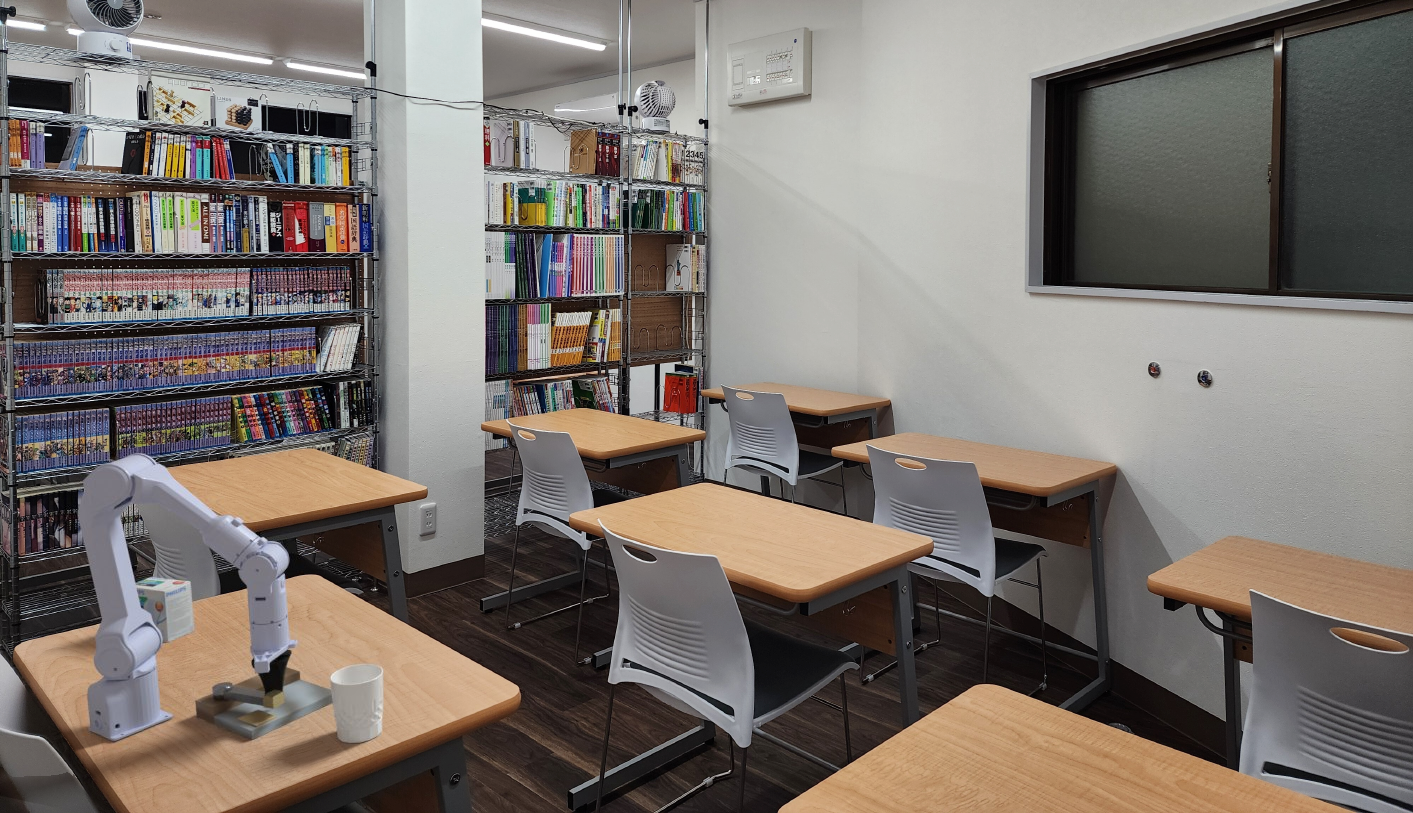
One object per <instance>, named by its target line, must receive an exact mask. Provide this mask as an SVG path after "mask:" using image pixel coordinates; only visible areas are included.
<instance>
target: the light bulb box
mask: <svg viewBox="0 0 1413 813" xmlns="http://www.w3.org/2000/svg"><path fill="white" fill-rule="evenodd" d="M135 584H136V588H137V593H138V597H139V601H140V606H141V608H142V609H144V610H145V611H147V612H149V613H150V614H151V616H152V620H153V622H154V624H155V626H156V627H157V628H158V629H159V630H160V632H161V634H162V638H163V642H164V643H171V642H172V641H175V640H177V639H180V638H181V637H184V636H187V635H188V634H191V633H193V632H195V624H194V623H195V621H194V609H193V598H192V597H193V595H192V585H191V584H192V583H191V581H190V580H180V579H173V578H172V579H171V578H162V577H154V576H151V577H147V578H145V579H142V580H139V581H137V582H135ZM163 642H162V643H163Z"/></svg>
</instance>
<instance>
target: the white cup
mask: <svg viewBox="0 0 1413 813" xmlns="http://www.w3.org/2000/svg"><path fill="white" fill-rule="evenodd" d="M329 681H330V690H331V692H332V701H333V703H332V708H333V715H334V721H335V723H336V733H337V739H338V740H340V741H341V742H343V743H345V744H346V743H347V744H357V743H358V744H360V743H363V742H364V743H365V742H367V741H371V740H373V739H374V738H377V737H379V735H381V733H382V732H383V715H384V669H383V668H382V666H379V665H377V664H372V663H359V664H354V665H353V664H351V665H348V666H344V667H342V668H340V669H337V670H336V671H334V672H332V674H331V675H330V677H329Z"/></svg>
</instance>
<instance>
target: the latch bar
mask: <svg viewBox="0 0 1413 813" xmlns="http://www.w3.org/2000/svg"><path fill="white" fill-rule="evenodd" d="M233 685H234V684H233V682H230V681H229V682H228V681H225V682H219V683H216V684H214V685H213V686H212V689H211V690H212V691H211V692H212V693H213V699H214V700H231V701H237V702H243V703H249V704H255V705H260V706H264V707H265V708H270V709H275V708H276V707H278V706H280V705H281V704H283V703H285V701H284V691H280V690H272V691H270V692H265V691H259V690H253V689H247V688H241V687H235V686H233Z"/></svg>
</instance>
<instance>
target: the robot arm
mask: <svg viewBox="0 0 1413 813" xmlns="http://www.w3.org/2000/svg"><path fill="white" fill-rule="evenodd" d="M82 484H83V489H84V491H83V494H82V497H81V500H80V503H79V506H78V509H77V518H78V522H79V526H80V531H81V534H82V539H83V540H82V541H83V542H84V543H83V544H84V547H85V552H86V556H87V557H86V558H87V561H88V565H89V569H90V573H91V577H92V581H93V586H94V590H95V594H96V598H97V602H98V607H99V608H98V609H99V611H100V615H101V622H100V624H99V627H98V628H97V630H96V633H95V636H94V641H95V652H94V654H93V655H94V656H93V663H94V667H95V669H96V670H97V672H98V673H99V674H100V675H102V677H101V679H99V680H98V681H96V682H94V683H92V684H90V685H89V686H88V688H87V693H86V695H87V696H86V697H87V698H86V699H87V705H88V706H87V707H88V709H87V710H88V717H89V726H88V727H87V730H88V731H90V732H93V733H94V734H96V735H99V736H101V737H103V738H105V739H108V740H110V741H112V742H116V741H119V740H121V739H124V738H127V737H128V736H132V735H133V734H136V733H138V732H141V731H143V730H146V729H149V728H151V727H154V726H156V725H158V724H161V723H163V722H165V721H167V720H170V719H172V718H174V715H173V713H170V712H168V711H165V710H163V709H162V708H161V699H160V688H159V678H158V677H159V676H158V667H157V663H158V662H157V653H159V651H160V649H162V646H163V638H162V634H161V632H160V630H159V629H158V628H157V627H156V626H155V624H154V622H153V620H152V616H151V614H150V613H149V612H147V611H145V610H144V609H142V608H141V606H140V601H139V597H138V593H137V588H136V584H135V583H136V580H135V576H134V572H133V568H132V562H131V558H130V554H129V550H128V544H127V541H126V537H125V532H124V527H123V522H122V518H121V515H122V514H123V513H124V512H125V511H126V509H127V508H128V507H129V506H130V505H131V504H132V505H133V504H134V505H137V504H138V505H139V504H141V505H142V504H158V505H159V506H160V507H162V508H164V509H166V510H167V511H169V513H172V514H173V515H175V516H176V517H178V518H179V519H181V520H183V521H184V522H186V523H187V524H189V525H190V526H192V527H193V528H195V529H196V530H198V531H200V532H201V535H202V536H201V538H202V542H203V544H204V545H205V546H207V547H208V548H209V549H211V550H212V551H213V552H215V553H216V554H218V555H219V556H221V558H223V559H224V560H226V561H227V562H228V563H230V564H232V566H234V567H235V568H237V569H238V570H237V571H238V575H239V578H240V579H241V581H242V582H243V583H244V584H245V585H246V588H247V589H246V590H247V593H246V594H247V603H248V604H247V606H248V617H249V618H248V619H249V620H248V621H249V632H250V647H249V651H250V653H251V656H252V659H251V661H250V662H251V667H252V668H253V670H254V674H257V675H259V676H260V678H261V681H262V683H263V686H264V689H265V692H270V691H272V690H280V691H283V685H284V677H285V671H286V667H288V663H289V660H290V657H291V656H292V652H293V651H292V650H291V649H295V648H296V647H297V646H298V644H299V643H298V641H299V640H298V639H291V638H290V628H289V627H290V626H289V613H288V612H289V611H288V610H289V609H288V600H287V598H288V597H287V588H286V575H285V573H284V572H285V570H286V569H287V568H288V567H289V563H290V556H289V553H288V551H287V549H286V548H285V547H284V546H283V545H282V544H281V543H280V542H277V541H275V540H274V541H273V540H271V541H269V540H268V539H267V538H265V537H264V536H262V537H260V536H259V535H257V534H256V533H255V532H254V531H252V530H251V529H249V527H247V526H246V525H244V524H243V523H244V522H245V521H244V520H243V519H242V518H240V517H239V516H236V517H234V516H232V515H230V514H225V515H218V514H217V513H216V512H214V511H213V510H212V509H211V508H210V507H208V506H207V505H206V504H205V503H204V502H203V501H201V500H200V499H199V498H198V497H196V495H194V494H193V493H192V492H191V491H189V490H188V489H187V488H186V487H185V486H184V485H182V484H181V483H180V482H179V481H178V480H176V479H175V478H174V477H173V476H172V474H171V473H170V472H169V470H168V468H167V467H166V466H165V465H162V464H160V463H158V462H156V460H155V459H154V458H153V457H151V456H149V455H147V454H145V453H141V452H140V453H139V452H138V453H136V452H135V453H131V454H129V455H127V456H125V457H124V458H120V459H117V460H115V461H112V462H108V463H104V464H100V465H99V466H96V468H94V469H93V470H92V471H91V472H90V473H89V474H88V475H87V476H86V477H85V478H84V479H83V480H82Z"/></svg>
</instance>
